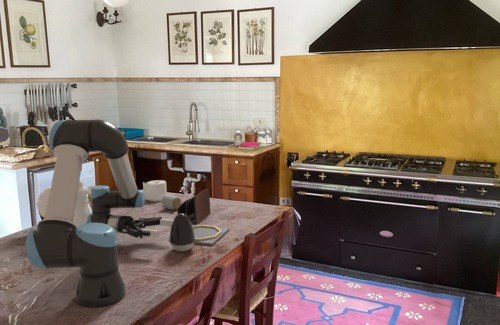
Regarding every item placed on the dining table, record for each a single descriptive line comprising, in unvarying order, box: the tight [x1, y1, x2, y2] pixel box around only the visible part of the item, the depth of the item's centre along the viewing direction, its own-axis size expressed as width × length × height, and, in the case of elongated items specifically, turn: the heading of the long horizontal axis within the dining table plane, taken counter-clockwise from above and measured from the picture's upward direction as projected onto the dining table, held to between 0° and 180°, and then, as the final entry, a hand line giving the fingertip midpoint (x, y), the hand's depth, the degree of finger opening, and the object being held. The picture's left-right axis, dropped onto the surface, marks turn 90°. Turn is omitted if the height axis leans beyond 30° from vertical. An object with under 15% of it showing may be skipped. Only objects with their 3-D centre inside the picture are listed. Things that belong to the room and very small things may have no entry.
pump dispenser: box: [169, 213, 195, 253], centre depth 182 cm, size 10×10×15 cm
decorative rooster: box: [36, 179, 92, 229], centre depth 206 cm, size 25×16×25 cm, turn 71°
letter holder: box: [177, 188, 211, 225], centre depth 223 cm, size 10×20×14 cm, turn 166°
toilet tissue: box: [142, 179, 168, 202], centre depth 260 cm, size 11×12×10 cm
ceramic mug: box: [161, 193, 182, 211], centre depth 242 cm, size 11×8×8 cm
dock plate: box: [168, 224, 230, 247], centre depth 200 cm, size 20×20×2 cm
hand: (166, 228), depth 185 cm, fingers open, 13 cm apart
